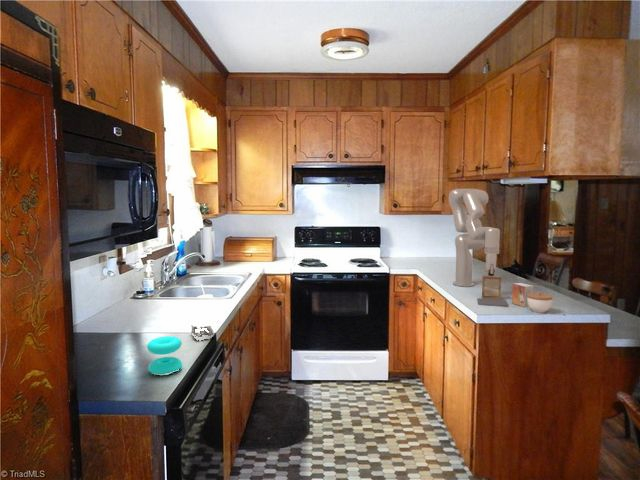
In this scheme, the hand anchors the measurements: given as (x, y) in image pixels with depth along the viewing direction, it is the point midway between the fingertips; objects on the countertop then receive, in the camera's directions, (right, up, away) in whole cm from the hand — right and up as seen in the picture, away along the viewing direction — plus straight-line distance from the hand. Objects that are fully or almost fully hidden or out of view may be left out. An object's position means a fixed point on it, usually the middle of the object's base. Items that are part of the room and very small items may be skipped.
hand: (490, 283), depth 236 cm
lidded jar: (+10, -10, -33) cm, 36 cm away
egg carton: (-140, -14, -68) cm, 157 cm away
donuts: (-143, -17, -102) cm, 176 cm away
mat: (-6, -8, -16) cm, 19 cm away
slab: (-2, -7, -7) cm, 10 cm away
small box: (+8, -9, -20) cm, 24 cm away
